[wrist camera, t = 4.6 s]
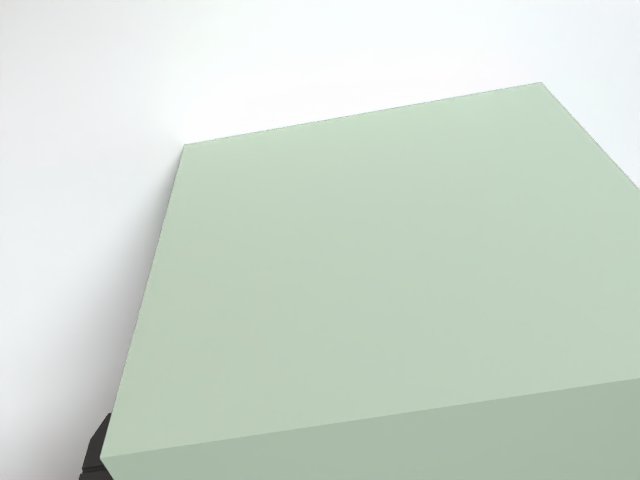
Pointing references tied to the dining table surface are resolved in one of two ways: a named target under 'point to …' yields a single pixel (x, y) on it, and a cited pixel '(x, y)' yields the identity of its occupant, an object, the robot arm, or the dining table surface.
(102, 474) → the robot arm
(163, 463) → the green cube
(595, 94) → the dining table surface
